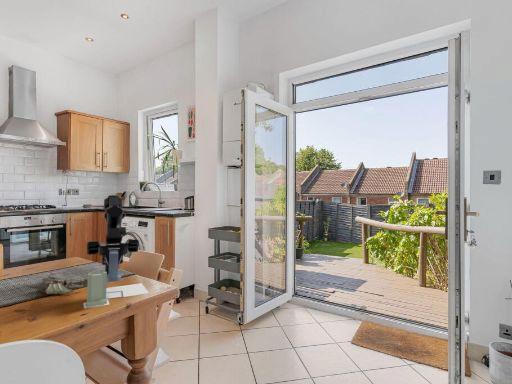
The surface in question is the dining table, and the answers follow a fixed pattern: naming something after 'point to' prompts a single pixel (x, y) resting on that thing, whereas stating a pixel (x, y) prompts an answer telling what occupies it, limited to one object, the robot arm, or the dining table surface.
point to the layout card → (122, 292)
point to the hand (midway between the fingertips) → (113, 264)
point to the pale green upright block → (96, 289)
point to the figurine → (55, 285)
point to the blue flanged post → (113, 267)
